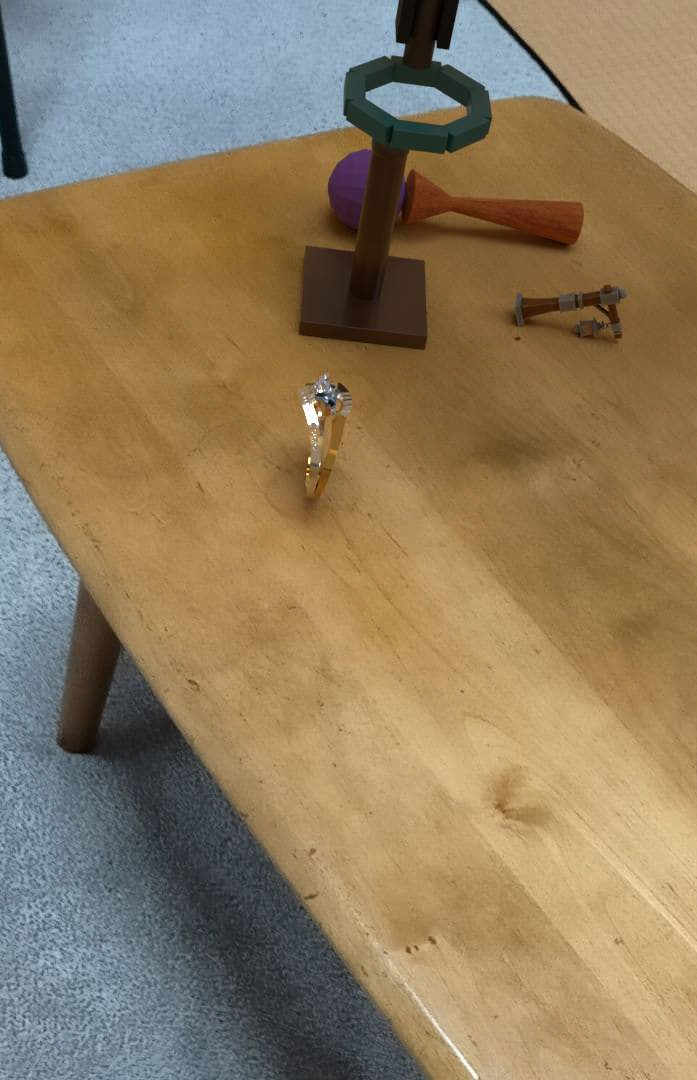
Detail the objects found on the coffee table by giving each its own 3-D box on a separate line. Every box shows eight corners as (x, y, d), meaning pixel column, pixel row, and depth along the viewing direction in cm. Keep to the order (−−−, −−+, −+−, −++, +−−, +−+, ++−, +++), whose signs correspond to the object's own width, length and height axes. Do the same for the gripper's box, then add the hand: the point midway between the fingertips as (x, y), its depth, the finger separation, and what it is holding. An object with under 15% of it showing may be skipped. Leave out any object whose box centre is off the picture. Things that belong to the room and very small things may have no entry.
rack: (422, 273, 94) (460, 99, 83) (424, 349, 88) (465, 173, 77) (304, 258, 93) (327, 81, 83) (298, 334, 87) (322, 154, 77)
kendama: (594, 224, 94) (337, 183, 90) (565, 277, 99) (321, 240, 95) (585, 168, 97) (336, 126, 93) (558, 222, 102) (321, 185, 98)
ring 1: (291, 441, 80) (305, 345, 74) (340, 448, 80) (358, 353, 74) (280, 520, 75) (293, 424, 69) (332, 528, 75) (350, 433, 70)
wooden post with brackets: (633, 342, 90) (625, 290, 87) (524, 353, 93) (513, 304, 90) (634, 327, 91) (626, 276, 88) (526, 339, 94) (516, 289, 91)
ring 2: (491, 160, 73) (539, -30, 64) (342, 141, 72) (371, -55, 63) (481, 82, 79) (524, -102, 70) (343, 64, 78) (370, -124, 69)
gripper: (355, -458, 55) (298, 49, 72) (679, -401, 56) (546, 82, 74) (355, -491, 60) (302, -10, 77) (653, -438, 61) (535, 23, 79)
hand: (421, 34), depth 75 cm, fingers closed on ring 2, 2 cm apart
